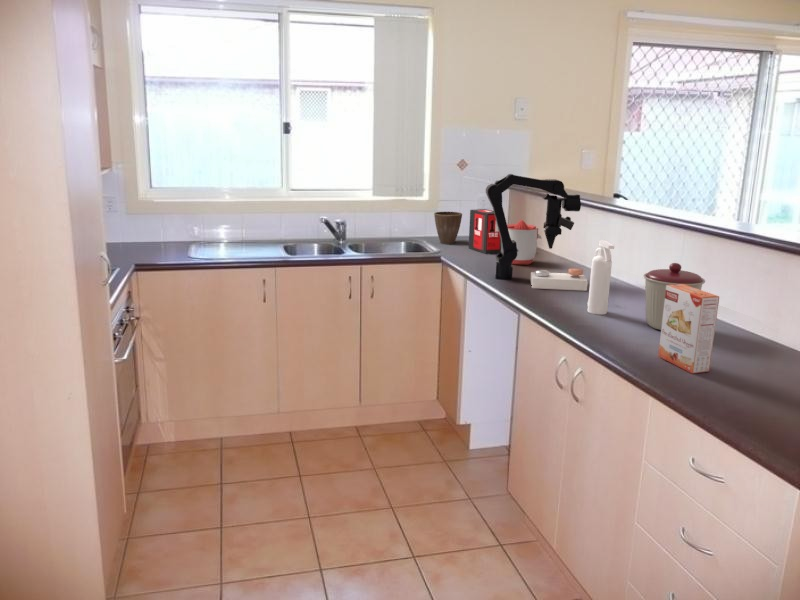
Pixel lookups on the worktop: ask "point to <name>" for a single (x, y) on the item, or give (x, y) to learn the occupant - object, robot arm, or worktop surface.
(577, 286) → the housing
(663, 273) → the canister
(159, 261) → the worktop surface
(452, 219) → the plant pot
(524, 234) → the citrus juicer
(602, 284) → the white spray bottle
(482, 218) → the cleaning product box
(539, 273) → the plug
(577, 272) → the terracotta plug
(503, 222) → the robot arm
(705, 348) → the cracker box
